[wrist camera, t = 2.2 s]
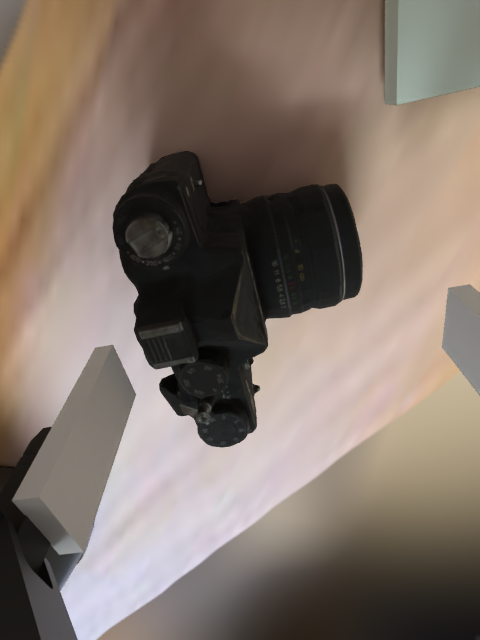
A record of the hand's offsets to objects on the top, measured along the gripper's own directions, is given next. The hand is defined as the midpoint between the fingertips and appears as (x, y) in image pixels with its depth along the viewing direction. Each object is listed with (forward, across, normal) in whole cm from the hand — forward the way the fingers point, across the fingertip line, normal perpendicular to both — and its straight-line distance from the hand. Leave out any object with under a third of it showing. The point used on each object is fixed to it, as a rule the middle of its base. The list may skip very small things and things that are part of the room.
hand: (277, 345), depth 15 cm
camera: (+10, -1, 0) cm, 10 cm away
